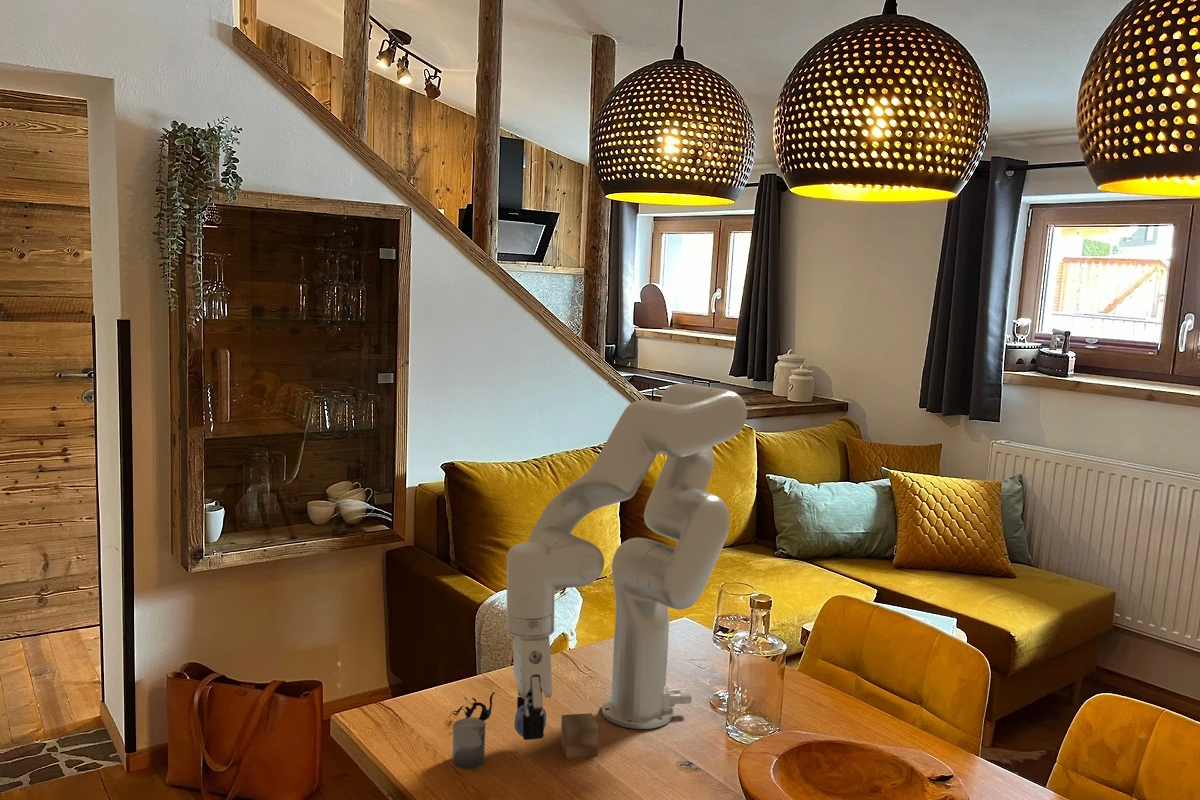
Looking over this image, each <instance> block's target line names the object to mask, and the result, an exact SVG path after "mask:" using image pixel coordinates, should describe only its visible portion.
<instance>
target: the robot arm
mask: <svg viewBox="0 0 1200 800" xmlns="http://www.w3.org/2000/svg"><path fill="white" fill-rule="evenodd" d="M747 410H748V409H747V405H746V403H745V401H744V399H743V397H742V396H740V395H739V394H738V393H736V392H735V391H732V390H729V389H725V388H718V387H713V386H706V385H705V386H704V385H701V384H696V383H683V382H682V383H675V384H671V385H669V386H668V387H667V388H666V389H665V390H664V392H663V394H662V397H661V400H660V401H655V400H648V399H647V400H646V399H641V400H640V399H639V400H635V401H633V402H631V403H630V404H628V406H626V408H625V409H624V410H623V412H622V413H621V415H620V417H619V419H618V420H617V422H616V424H615V425H614V428H613V429H612V431H611V433H610V434H609V436H608V439H607V440H606V442H605V443H604V445H603V447H602V448H601V450H600V452H599V454H598V455H597V457H596V459H595V460H594V462H593V464H592V466H591V467H590V468H589V470H588V471H587V472H586V473H585V474H583V475H582V476H580V477H579V478H577V479H576V480H574V481H573V482H571V483H569V485H568V486H566V487H565V488H564V489H562V490H561V491H560V492H559V493H558V494H556V495H555V496H554V497H553V498H552V499H551V500H550V501H549V503H548V504H547V505H546V507H545V508H544V509H543V511H542V512H541V515H540V516H539V518H538V519H537V521H536V523H535V525H534V527H533V528H532V531H531V533H530V534H529V538H528V540H527V541H526V542H521V543H517V544H514V545H512V546H511V547H510V548H509V550H508V552H507V554H506V633H507V634H508V635H509V636H511V637H512V638H513V640H512V641H513V647H512V649H513V651H512V653H513V658H512V659H513V675H514V679H515V683H516V686H517V694H518V695H517V697H516V698H517V702H516V703H517V704H516V707H517V708H516V710H518V708H519V707H520V706H522V705H524V704H525V715H523V737H522V738H523V740H524V741H528V740H530V741H531V740H538V739H539V740H540V739H543V738H544V731H545V728H544V714H543V709H544V705H543V704H544V703H543V702H544V701H543V696H544V697H545V698H548V699H549V698H551V697H552V696H553V689H552V688H553V687H552V686H553V683H552V655H551V653H552V652H551V644H550V636H551V635H553V633H554V632H555V598H556V597H555V596H556V595H555V593H556V591H555V590H557V589H567V588H569V589H570V588H573V589H574V588H581V587H585V586H588V585H589V586H590V585H591V584H592V583H594V582H595V581H597V580H598V578H600V577H601V575H602V573H603V570H604V566H605V559H604V557H605V556H604V555H603V552H602V551H601V549H600V548H599V547H598V546H597V545H595V544H594V543H593V542H591V541H588V540H586V539H585V538H581V537H578V536H576V535H575V534H572V533H573V531H574V529H575V528H576V526H577V525H578V524H579V523H580V522H581V521H582V520H583V519H584V518H585V517H586V516H588V515H589V514H590V513H593V511H596V510H599V509H601V508H603V507H607V506H608V507H609V506H611V505H614V504H618V503H619V504H620V503H621V502H626V501H627V500H630V499H631V498H633V497H634V496H635V494H637V491H638V489H639V487H640V486H641V483H642V482H643V481H644V478H645V476H646V475H647V473H648V471H649V470H650V467H651V466H652V464H653V462H654V461H655V458H656V457H657V455H658V454H660V455H664V456H666V459H665V461H664V463H663V466H662V468H661V471H660V473H659V475H658V478H657V480H656V482H655V484H654V486H653V489H652V491H651V493H650V495H649V497H648V499H647V502H646V505H645V509H644V512H643V513H644V514H643V519H644V523H645V525H646V526H647V528H648V529H649V530H651V531H652V532H653V533H655V534H657V535H661V536H662V537H665V538H667V539H670V540H673V541H676V542H677V543H676V547H672V546H669V545H667V544H664V543H662V542H658V541H656V540H653V539H649V538H646V537H633V538H628V539H627V540H625V541H623V542H622V543H621V544H620V545H619V546H618V547H617V549H616V550H615V552H614V555H613V556H612V557H613V558H612V562H611V574H612V575H611V576H612V583H613V589H614V599H615V612H614V613H615V616H614V617H615V619H614V620H615V622H614V635H613V637H614V640H613V655H612V656H613V657H612V662H613V663H612V678H611V694H610V696H608V697H607V698H606V699H604V700H603V701H602V705H601V706H602V707H601V713H602V715H603V716H604V718H605V719H606V720H607V721H609V722H611V723H612V724H614V725H617V726H619V727H623V728H627V729H633V730H634V729H635V730H649V729H655V728H660V727H662V726H665V725H667V724H669V723H670V721H671V720H672V719H673V715H674V707H675V705H679V704H680V705H690V704H692V701H693V699H692V694H691V692H681V690H680V688H679V687H678V688H669V689H668V688H667V686H666V684H667V670H668V669H667V665H668V651H669V650H668V649H669V634H670V633H669V632H670V613H669V608H671V609H673V610H686V609H689V608H690V607H692V606H693V605H695V604H696V603H697V602H698V601H699V599H701V596H702V594H703V592H704V591H705V589H706V587H707V584H708V582H709V580H710V577H711V576H712V573H713V571H714V569H715V567H716V564H717V561H718V559H719V557H720V554H721V553H722V549H723V548H724V545H725V543H726V540H727V537H728V535H729V530H730V519H731V518H730V511H729V508H728V506H727V504H726V503H725V501H724V500H723V499H722V498H720V497H719V496H718V495H716V494H713V493H710V492H707V491H706V490H707V487H708V485H709V483H710V482H709V481H710V480H711V477H712V473H713V470H714V466H715V464H714V463H715V457H714V456H715V455H714V449H713V447H715V446H718V445H721V444H723V443H725V442H727V441H730V440H731V439H733V438H734V437H736V436H737V435H739V433H740V432H741V431H742V430H743V428H744V427H745V424H746V421H747V416H748V411H747ZM529 703H532V705H530V707H529Z"/></svg>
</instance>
